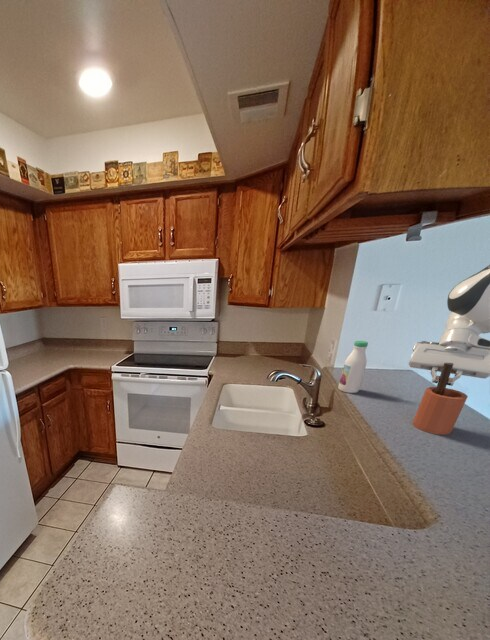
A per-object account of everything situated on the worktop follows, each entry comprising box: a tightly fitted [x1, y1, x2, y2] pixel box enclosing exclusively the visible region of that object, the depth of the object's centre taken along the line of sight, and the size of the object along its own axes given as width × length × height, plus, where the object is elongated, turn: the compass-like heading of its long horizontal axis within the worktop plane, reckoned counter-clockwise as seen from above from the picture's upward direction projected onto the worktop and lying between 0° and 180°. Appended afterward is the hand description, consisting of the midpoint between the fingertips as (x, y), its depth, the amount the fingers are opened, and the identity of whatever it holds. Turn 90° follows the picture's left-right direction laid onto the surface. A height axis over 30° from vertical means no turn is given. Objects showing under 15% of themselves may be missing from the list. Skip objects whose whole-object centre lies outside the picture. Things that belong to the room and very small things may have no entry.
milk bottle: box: [337, 340, 369, 394], centre depth 132 cm, size 8×8×20 cm
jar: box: [412, 386, 468, 436], centre depth 104 cm, size 10×10×12 cm
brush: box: [435, 363, 453, 396], centre depth 101 cm, size 4×4×15 cm
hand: (442, 383), depth 100 cm, fingers closed on brush, 2 cm apart
